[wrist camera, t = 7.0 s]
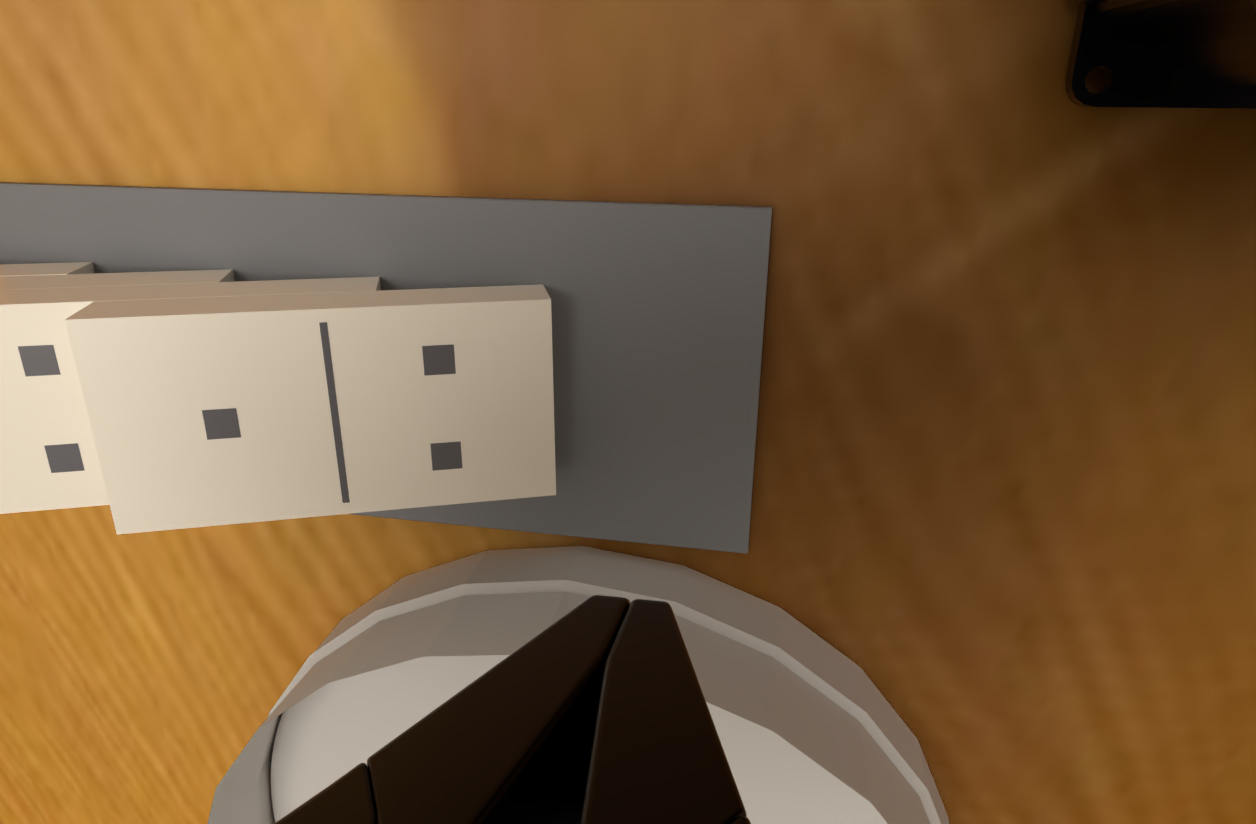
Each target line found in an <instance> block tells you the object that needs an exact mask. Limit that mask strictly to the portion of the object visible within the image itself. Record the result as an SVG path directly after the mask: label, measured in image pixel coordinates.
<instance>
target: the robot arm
mask: <svg viewBox="0 0 1256 824" xmlns="http://www.w3.org/2000/svg"><path fill="white" fill-rule="evenodd" d="M1073 2H1074V3H1076V4H1080V6H1079V11H1078V17H1077V22H1076V28H1075V33H1074V38H1073V44H1072V49H1071V55H1070V60H1069V65H1068V71H1067V76H1066V91H1067V93H1068V95H1069V98H1070V99H1071V100H1073V101H1074V102H1075V103H1076V104H1079V105H1083V106H1091V107H1170V108H1256V0H1073ZM1095 67H1099V68H1102V70H1103V71H1104V72H1105V76H1106V81H1105V83H1104V85H1103V87H1102V88H1101V89H1100V90H1098V91H1097V92H1095V93H1091V92H1089V91H1088V90H1087V88H1086V87H1085V78H1086V76H1087V74H1088V72H1090V71H1091V70H1092V69H1093V68H1095ZM274 824H751V823H750V820H749V819H748V818H747V814H746V810H745V807H744V805H743V802H742V799H741V796H740V794H739V791H738V788H737V785H736V783H735V780H734V777H733V775H732V772H731V769H730V766H729V764H728V761H727V758H726V755H725V753H724V750H723V747H722V744H721V742H720V739H719V736H718V733H717V731H716V728H715V725H714V722H713V720H712V717H711V714H710V711H709V709H708V706H707V703H706V701H705V698H704V695H703V692H702V690H701V687H700V684H699V681H698V679H697V676H696V673H695V670H694V668H693V665H692V662H691V659H690V657H689V654H688V651H687V649H686V646H685V643H684V640H683V638H682V635H681V632H680V629H679V627H678V624H677V621H676V618H675V616H674V613H673V610H672V608H671V606H670V604H669V603H667V602H665V601H655V600H644V599H635V600H633V601H632V602H631V603H630V601H629V600H628V599H627V598H623V597H613V596H603V595H593V596H591V597H589V598H588V599H587V600H585V601H584V602H582V603H581V604H580V605H578V606H577V607H576V608H574V609H573V610H571V611H570V612H569V613H567V614H566V615H565V616H563V617H562V618H560V619H559V620H558V621H556V622H555V623H553V624H552V625H551V626H549V627H548V628H547V629H545V630H544V631H542V632H541V633H540V634H538V635H537V636H536V637H534V638H533V639H531V640H530V641H529V642H527V643H526V644H524V645H523V646H522V647H520V648H519V649H518V650H516V651H515V652H513V653H512V654H511V655H509V656H508V657H507V658H505V659H504V660H502V661H501V662H500V663H498V664H497V665H495V666H494V667H493V668H491V669H490V670H489V671H487V672H486V673H484V674H483V675H482V676H480V677H479V678H478V679H476V680H475V681H473V682H472V683H471V684H469V685H468V686H466V687H465V688H464V689H462V690H461V691H460V692H458V693H457V694H455V695H454V696H453V697H451V698H450V699H449V700H447V701H446V702H444V703H443V704H442V705H440V706H439V707H438V708H436V709H435V710H433V711H432V712H431V713H429V714H428V715H426V716H425V717H424V718H422V719H421V720H420V721H418V722H417V723H415V724H414V725H413V726H411V727H410V728H409V729H407V730H406V731H404V732H403V733H402V734H400V735H399V736H397V737H396V738H395V739H393V740H392V741H391V742H389V743H388V744H386V745H385V746H384V747H382V748H381V749H380V750H378V751H377V752H375V753H374V754H373V755H371V756H370V757H369V758H368V759H367V764H365V763H360V764H358V765H357V766H356V767H354V768H353V769H351V770H350V771H349V772H347V773H346V774H345V775H343V776H342V777H340V778H339V779H338V780H336V781H335V782H333V783H332V784H331V785H329V786H328V787H326V788H325V789H324V790H322V791H321V792H319V793H318V794H316V795H315V796H313V797H312V798H310V799H309V800H308V801H306V802H305V803H303V804H302V805H300V806H299V807H297V808H296V809H294V810H293V811H292V812H290V813H289V814H287V815H286V816H284V817H283V818H281V819H280V820H278V821H277V822H275V823H274Z"/></svg>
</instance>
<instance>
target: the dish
mask: <svg viewBox="0 0 1256 824" xmlns="http://www.w3.org/2000/svg"><path fill="white" fill-rule="evenodd" d="M593 595H603V596H613V597H623V598H627V599H628V600H629V601H630V603H631V602H632V601H633V600H635V599H644V600H655V601H665V602H667V603H669V604H670V606H671V608H672V610H673V613H674V616H675V618H676V621H677V624H678V627H679V629H680V632H681V635H682V638H683V640H684V643H685V646H686V649H687V651H688V654H689V657H690V659H691V662H692V665H693V668H694V670H695V673H696V676H697V679H698V681H699V684H700V687H701V690H702V692H703V695H704V698H705V701H706V703H707V706H708V709H709V711H710V714H711V717H712V720H713V722H714V725H715V728H716V731H717V733H718V736H719V739H720V742H721V744H722V747H723V750H724V753H725V755H726V758H727V761H728V764H729V766H730V769H731V772H732V775H733V777H734V780H735V783H736V785H737V788H738V791H739V794H740V796H741V799H742V802H743V805H744V807H745V810H746V814H747V818H748V819H749V820H750V823H751V824H949V820H948V815H947V813H946V810H945V808H944V805H943V803H942V800H941V798H940V795H939V792H938V790H937V787H936V785H935V782H934V780H933V777H932V775H931V772H930V770H929V767H928V765H927V762H926V760H925V757H924V755H923V752H922V749H921V747H920V744H919V742H918V739H917V738H916V737H915V735H914V734H913V733H912V732H911V730H910V729H909V728H908V727H907V725H906V724H905V723H904V722H903V720H902V719H901V718H900V717H899V715H898V714H897V713H896V712H895V710H894V709H893V708H892V706H891V705H890V704H889V703H888V701H887V700H886V699H885V698H884V696H883V695H882V694H881V693H880V691H879V690H878V689H877V688H876V686H875V685H874V684H873V682H872V681H871V680H870V679H869V677H868V676H867V675H866V674H865V672H864V671H863V670H862V669H861V667H859V666H858V665H857V664H855V663H854V662H853V661H851V660H850V659H849V658H847V657H846V656H845V655H843V654H842V653H841V652H839V651H838V650H837V649H835V648H834V647H833V646H831V645H830V644H829V643H827V642H826V641H824V640H823V639H822V638H820V637H819V636H818V635H816V634H815V633H814V632H812V631H811V630H810V629H808V628H807V627H806V626H804V625H803V624H802V623H800V622H799V621H798V620H796V619H795V618H793V617H792V616H791V615H789V614H788V613H787V612H785V611H784V610H783V609H781V608H780V607H778V606H776V605H774V604H771V603H769V602H767V601H764V600H762V599H760V598H757V597H755V596H753V595H751V594H748V593H746V592H744V591H741V590H739V589H737V588H735V587H732V586H730V585H728V584H725V583H723V582H721V581H718V580H716V579H714V578H712V577H709V576H707V575H705V574H702V573H700V572H698V571H695V570H693V569H691V568H689V567H686V566H684V565H680V564H674V563H669V562H664V561H659V560H654V559H649V558H643V557H638V556H633V555H628V554H623V553H617V552H612V551H607V550H602V549H597V548H591V547H586V546H567V547H546V548H526V549H506V550H486V551H483V552H480V553H477V554H474V555H471V556H467V557H464V558H461V559H458V560H455V561H451V562H448V563H445V564H442V565H439V566H436V567H432V568H429V569H426V570H423V571H420V572H417V573H413V574H410V575H407V576H404V577H403V578H401V579H400V580H398V581H397V582H396V583H394V584H393V585H391V586H390V587H388V588H387V589H385V590H384V591H382V592H381V593H379V594H378V595H377V596H375V597H374V598H372V599H371V600H369V601H368V602H366V603H365V604H363V605H362V606H360V607H359V608H358V609H356V610H355V611H353V612H352V613H350V614H349V615H347V616H346V617H344V618H343V619H342V620H341V621H340V622H339V623H338V625H337V626H336V627H335V628H334V629H333V631H332V632H331V633H330V634H329V635H328V636H327V638H326V639H325V640H324V641H323V642H322V643H321V645H320V646H319V647H318V648H317V649H316V651H315V652H314V653H313V654H311V655H310V656H309V657H308V659H307V660H306V662H305V663H304V665H303V666H302V667H301V669H300V670H299V672H298V673H297V674H296V676H295V677H294V679H293V680H292V681H291V683H290V684H289V686H288V687H287V689H286V690H285V691H284V693H283V694H282V696H281V697H280V698H279V700H278V701H277V703H276V704H275V705H274V707H273V708H272V710H271V711H270V713H269V716H268V718H267V719H266V720H265V721H264V723H263V724H262V725H261V726H260V727H259V728H258V730H257V731H256V732H255V734H254V735H253V737H252V738H251V739H250V741H249V742H248V744H247V745H246V746H245V748H244V749H243V751H242V752H241V753H240V755H239V756H238V758H237V759H236V760H235V762H234V763H233V765H232V766H231V768H230V769H229V770H228V772H227V773H226V775H225V776H224V777H223V779H222V780H221V782H220V783H219V784H218V786H217V787H216V791H215V795H214V799H213V803H212V807H211V812H210V816H209V820H208V824H274V823H275V822H277V821H278V820H280V819H281V818H283V817H284V816H286V815H287V814H289V813H290V812H292V811H293V810H294V809H296V808H297V807H299V806H300V805H302V804H303V803H305V802H306V801H308V800H309V799H310V798H312V797H313V796H315V795H316V794H318V793H319V792H321V791H322V790H324V789H325V788H326V787H328V786H329V785H331V784H332V783H333V782H335V781H336V780H338V779H339V778H340V777H342V776H343V775H345V774H346V773H347V772H349V771H350V770H351V769H353V768H354V767H356V766H357V765H358V764H360V763H365V764H367V759H368V758H369V757H370V756H371V755H373V754H374V753H375V752H377V751H378V750H380V749H381V748H382V747H384V746H385V745H386V744H388V743H389V742H391V741H392V740H393V739H395V738H396V737H397V736H399V735H400V734H402V733H403V732H404V731H406V730H407V729H409V728H410V727H411V726H413V725H414V724H415V723H417V722H418V721H420V720H421V719H422V718H424V717H425V716H426V715H428V714H429V713H431V712H432V711H433V710H435V709H436V708H438V707H439V706H440V705H442V704H443V703H444V702H446V701H447V700H449V699H450V698H451V697H453V696H454V695H455V694H457V693H458V692H460V691H461V690H462V689H464V688H465V687H466V686H468V685H469V684H471V683H472V682H473V681H475V680H476V679H478V678H479V677H480V676H482V675H483V674H484V673H486V672H487V671H489V670H490V669H491V668H493V667H494V666H495V665H497V664H498V663H500V662H501V661H502V660H504V659H505V658H507V657H508V656H509V655H511V654H512V653H513V652H515V651H516V650H518V649H519V648H520V647H522V646H523V645H524V644H526V643H527V642H529V641H530V640H531V639H533V638H534V637H536V636H537V635H538V634H540V633H541V632H542V631H544V630H545V629H547V628H548V627H549V626H551V625H552V624H553V623H555V622H556V621H558V620H559V619H560V618H562V617H563V616H565V615H566V614H567V613H569V612H570V611H571V610H573V609H574V608H576V607H577V606H578V605H580V604H581V603H582V602H584V601H585V600H587V599H588V598H589V597H591V596H593Z"/></svg>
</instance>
